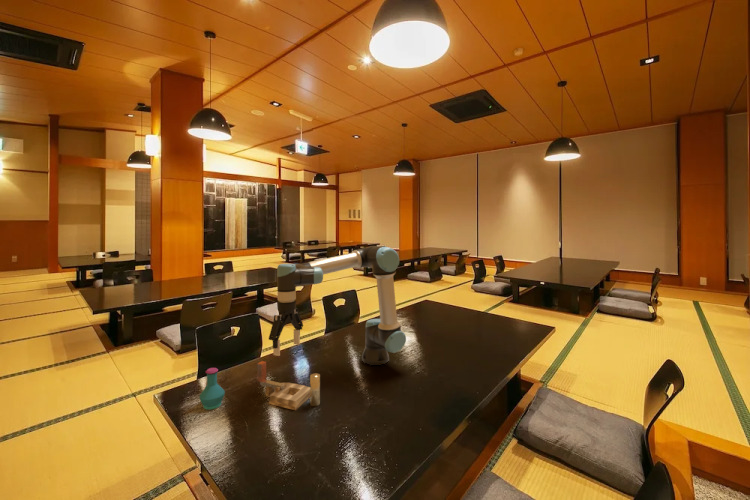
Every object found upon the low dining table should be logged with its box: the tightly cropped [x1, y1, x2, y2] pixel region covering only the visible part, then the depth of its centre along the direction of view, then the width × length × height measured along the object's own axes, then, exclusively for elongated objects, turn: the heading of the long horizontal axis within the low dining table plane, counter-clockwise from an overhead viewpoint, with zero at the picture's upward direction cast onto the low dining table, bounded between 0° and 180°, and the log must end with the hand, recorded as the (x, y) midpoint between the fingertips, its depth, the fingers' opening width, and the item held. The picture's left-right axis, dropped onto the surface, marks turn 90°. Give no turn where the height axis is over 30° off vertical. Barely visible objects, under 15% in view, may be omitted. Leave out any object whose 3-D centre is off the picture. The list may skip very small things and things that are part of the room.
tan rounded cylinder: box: [309, 372, 321, 407], centre depth 134 cm, size 4×4×12 cm
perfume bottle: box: [199, 367, 226, 410], centre depth 132 cm, size 9×9×15 cm
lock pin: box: [256, 360, 284, 390], centre depth 141 cm, size 12×3×10 cm, turn 70°
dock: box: [265, 382, 310, 411], centre depth 139 cm, size 18×13×5 cm
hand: (287, 349), depth 138 cm, fingers open, 13 cm apart
